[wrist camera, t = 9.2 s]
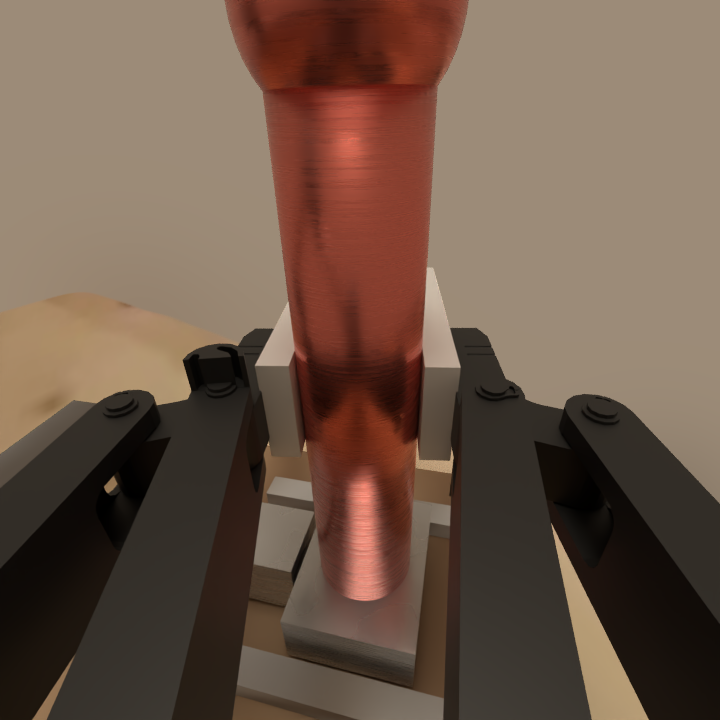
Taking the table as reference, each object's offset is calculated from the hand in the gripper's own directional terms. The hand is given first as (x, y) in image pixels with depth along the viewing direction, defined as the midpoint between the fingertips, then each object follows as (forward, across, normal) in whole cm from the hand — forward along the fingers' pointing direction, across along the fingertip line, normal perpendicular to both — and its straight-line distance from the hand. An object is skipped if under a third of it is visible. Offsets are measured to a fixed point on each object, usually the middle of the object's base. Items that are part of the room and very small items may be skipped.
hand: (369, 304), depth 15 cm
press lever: (-5, -2, -9) cm, 10 cm away
